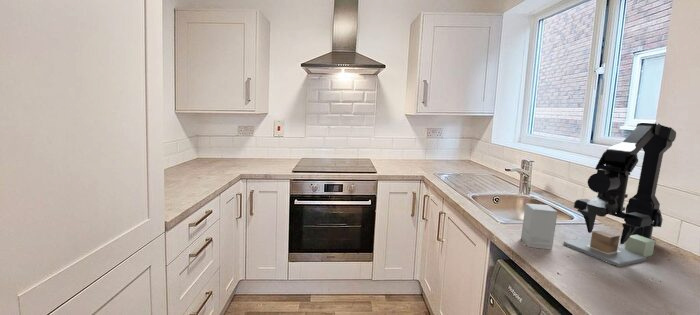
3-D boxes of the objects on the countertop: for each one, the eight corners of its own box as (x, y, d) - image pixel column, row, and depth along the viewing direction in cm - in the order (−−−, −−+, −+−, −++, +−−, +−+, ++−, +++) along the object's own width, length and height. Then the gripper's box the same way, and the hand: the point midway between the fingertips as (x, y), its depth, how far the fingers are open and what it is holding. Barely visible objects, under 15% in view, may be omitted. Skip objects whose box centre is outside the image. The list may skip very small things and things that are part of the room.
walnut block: (599, 244, 106) (602, 229, 105) (617, 250, 101) (619, 235, 101) (589, 246, 104) (592, 231, 103) (607, 253, 100) (609, 237, 99)
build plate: (590, 239, 113) (590, 236, 113) (646, 260, 98) (646, 256, 98) (563, 244, 108) (563, 241, 107) (618, 267, 93) (618, 263, 93)
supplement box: (552, 250, 102) (558, 211, 101) (527, 247, 104) (532, 209, 102) (543, 241, 110) (549, 204, 108) (520, 238, 111) (525, 202, 109)
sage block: (633, 249, 107) (636, 234, 106) (652, 255, 102) (655, 240, 101) (624, 250, 105) (627, 236, 104) (643, 257, 100) (646, 242, 99)
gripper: (566, 183, 105) (559, 229, 108) (634, 200, 88) (623, 254, 91) (588, 182, 109) (581, 226, 112) (657, 197, 92) (646, 249, 95)
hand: (605, 238), depth 102 cm, fingers open, 9 cm apart
